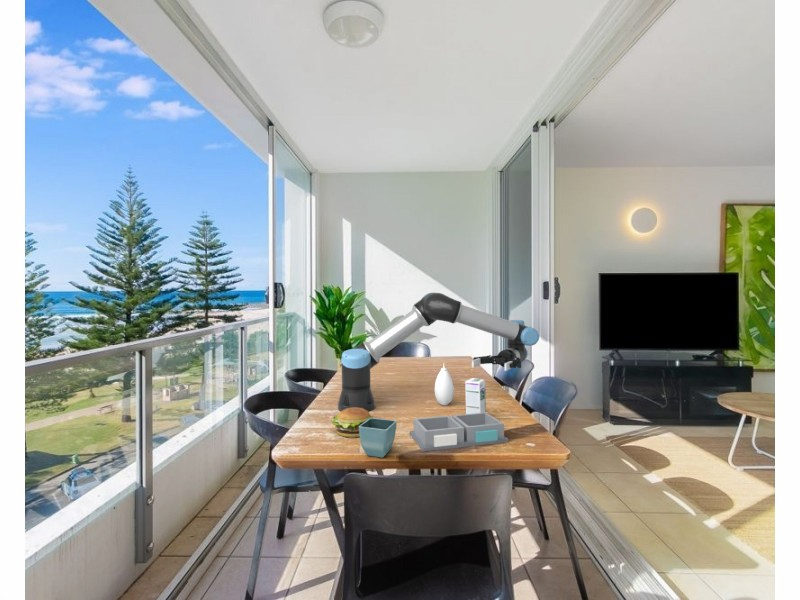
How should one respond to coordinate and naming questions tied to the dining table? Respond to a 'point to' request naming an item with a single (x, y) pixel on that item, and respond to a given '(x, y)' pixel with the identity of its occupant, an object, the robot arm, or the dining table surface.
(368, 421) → the flower pot
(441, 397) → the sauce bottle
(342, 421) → the food
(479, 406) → the syrup box
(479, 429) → the sorting bin tray
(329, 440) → the dining table surface
